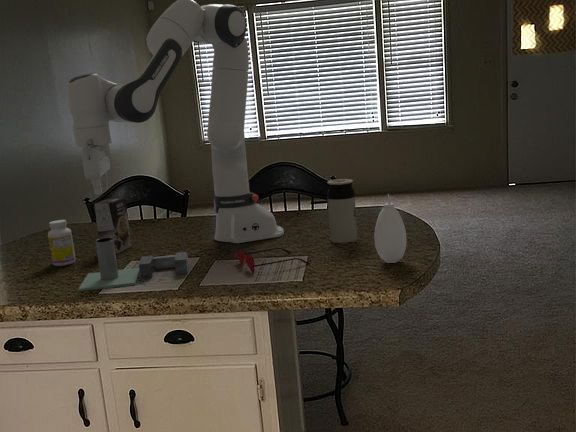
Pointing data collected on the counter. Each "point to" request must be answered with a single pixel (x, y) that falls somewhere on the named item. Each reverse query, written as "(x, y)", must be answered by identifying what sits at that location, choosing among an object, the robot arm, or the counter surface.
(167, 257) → the grey tube mount
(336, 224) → the travel mug
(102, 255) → the grey cylinder
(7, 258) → the counter surface
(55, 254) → the supplement bottle
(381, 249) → the sauce bottle
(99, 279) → the mat
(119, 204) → the coffee box
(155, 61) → the robot arm
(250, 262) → the glasses
